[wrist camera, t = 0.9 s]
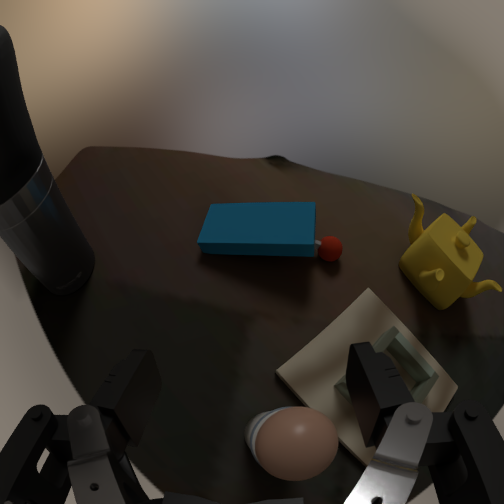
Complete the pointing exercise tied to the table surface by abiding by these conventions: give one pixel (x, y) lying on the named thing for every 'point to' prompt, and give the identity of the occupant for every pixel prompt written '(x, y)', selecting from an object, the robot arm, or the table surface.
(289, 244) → the lever
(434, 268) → the teapot
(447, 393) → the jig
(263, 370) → the table surface
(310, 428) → the brown-capped white canister
